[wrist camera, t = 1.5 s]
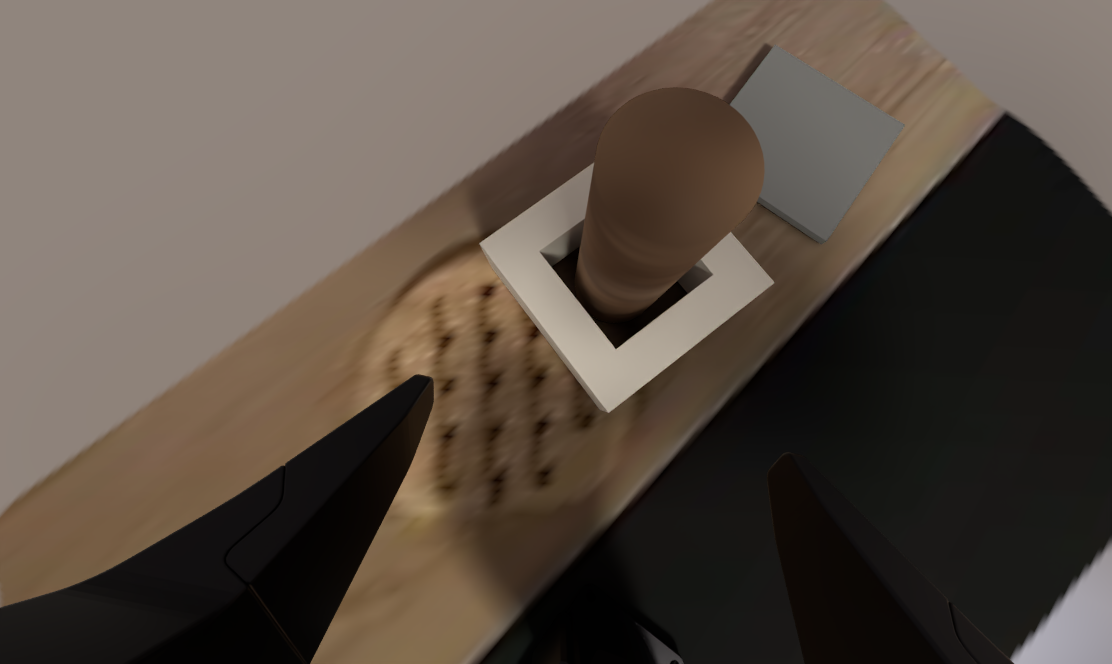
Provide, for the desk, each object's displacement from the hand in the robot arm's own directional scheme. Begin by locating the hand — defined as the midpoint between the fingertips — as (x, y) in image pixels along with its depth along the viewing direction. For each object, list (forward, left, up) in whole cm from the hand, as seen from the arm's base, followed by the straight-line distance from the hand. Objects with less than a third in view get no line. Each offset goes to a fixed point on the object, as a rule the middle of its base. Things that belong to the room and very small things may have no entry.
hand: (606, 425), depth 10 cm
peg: (+3, -7, -14) cm, 16 cm away
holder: (+3, -7, -13) cm, 16 cm away
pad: (-1, -22, -13) cm, 26 cm away
